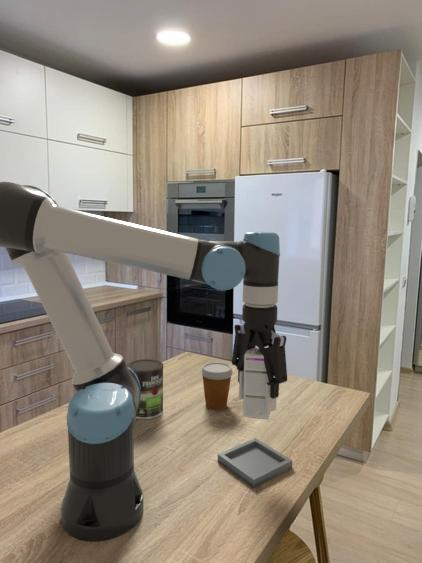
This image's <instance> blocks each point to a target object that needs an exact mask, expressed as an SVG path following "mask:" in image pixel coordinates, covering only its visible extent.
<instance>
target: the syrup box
mask: <svg viewBox="0 0 422 563" xmlns="http://www.w3.org/2000/svg"><path fill="white" fill-rule="evenodd" d="M267 382H269V380H268V376H267V372H266V368H265V364H264V357H263V355H262V353H261V352H260V351H259V347H257V346H255V348H252V349H249V350H247V351H246V352H245V355H244V399H243V409H242V410H243V411H242V412H243V416H242V417H245V418H250V419H259V420H267V421H268V420H269V419H270V415H271V412H269V413H266V412H265V392H266V383H267Z"/></svg>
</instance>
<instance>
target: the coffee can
mask: <svg viewBox="0 0 422 563" xmlns="http://www.w3.org/2000/svg"><path fill="white" fill-rule="evenodd" d="M126 365H127V367H129V368H130V369H131V370H133V371H134V373H135V374H136V376H137V377H138V380H139V383H140V387H141V390H140V391H141V398H140V402H139V406H138V410H137V415H136V420H141V421H142V420H146V421H147V420H151V419H155V418H157V417H160V416H161V415H162V414H163V412H164V405H163V404H164V363H163V362H162V361H159V360H156V359H151V358H149V359H148V358H147V359H138V360H137V359H136V360H132V361H130V362H129V363H127V364H126Z"/></svg>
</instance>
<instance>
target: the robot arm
mask: <svg viewBox="0 0 422 563" xmlns="http://www.w3.org/2000/svg"><path fill="white" fill-rule="evenodd" d="M0 247H1V248H4V249H6V252H7V254H8V256H9V258H10V261H11V262H12V263H14V264H17V265H19V266H22V267H23V268H24V270H25V272H26V275H27V276H28V278H29V280H30V282H31V284H32V286H33V289H34V290H35V293H36V294H37V296H38V298H39V300H40V303H41V305H42V307H43V309H44V311H45V313H46V315H47V317H48V319H49V321H50V323H51V325H52V327H53V329H54V332H55V334H56V336H57V337H58V339H59V341H60V344H61V346H62V348H63V350H64V352H65V354H66V356H67V357H68V360H69V362H70V364H71V366H72V369H73V370H74V373H73V376H72V379H71V384H72V387H73V388H74V390H75V392H76V393H75V394H73V395H72V396H71V398H70V400H69V402H68V405H67V413H66V425H67V433H68V435H67V438H68V440H67V441H68V463H69V464H68V465H69V481H68V484H67V486H66V490H65V493H64V496H63V500H62V503H61V509H60V515H61V516H60V517H61V525H62V528H63V530H64V531H66V533H67V534H69V535H70V536H71V537H74V538H75V539H79V540H82V541H90V542H93V541H95V542H97V541H104V540H105V541H106V540H109V539H113V538H116V537H119V536H120V535H122V534H124V533H126V532H128V531H129V530H130V529H132V528H133V527H134V526H135V525H136V524H137V523H138V522H139V521H140V519H141V517H142V516H143V512H144V503H145V502H144V493H143V490H142V487H141V485H140V482H139V479H138V476H137V475H136V472H135V464H134V463H135V462H134V461H135V460H134V459H135V454H134V453H135V450H134V448H135V447H134V446H135V444H134V437H135V436H134V432H135V425H136V420H137V419H136V415H137V410H138V406H139V402H140V398H141V391H140V390H141V387H140V383H139V380H138V377H137V376H136V374H135V373H134V371H133V370H131V369H130V368H129V367H127V365H128V364H127V363H126V361H125V359H124V357H123V355H121V354H119V353H115V352H113V350H112V348H111V345H110V344H109V341H108V339H107V337H106V334H105V333H104V331H103V328H102V326H101V323H100V322H99V319H98V318H97V316H96V314H95V312H94V310H93V307H92V305H91V303H90V300H89V299H88V296H87V295H86V292H85V290H84V287H83V285H82V283H81V282H80V280H79V277H78V275H77V273H76V271H75V269H74V266H73V264H72V262H71V260H70V257H69V256H68V254H69V255H74V256H77V257H78V256H79V257H83V258H87V259H93V260H98V261H101V262H102V261H103V262H107V263H110V264H111V263H112V264H115V265H120V266H124V267H129V268H134V269H139V270H144V271H146V272H147V271H148V272H151V273H152V272H153V273H155V274H161V275H167V276H171V277H175V278H180V279H185V280H189V281H192V282H197V283H200V284H201V283H202V284H205V285H208V286H209V287H211V288H213V289H216V290H219V291H228V290H232V289H234V288H236V287H238V286H239V284H241V283H243V284H242V302H243V303H244V304H243V305H242V308H241V309H242V314H241V315H242V316H241V318H242V321H243V322H244V323H239V324H235V325H234V341H233V342H234V343H233V350H232V357H231V365H232V366H235V367H236V369H237V381H238V384H239V385H238V399H240V400H244V355H245V352H246V351H247V350H249V349H252V348H255V347H259V351H260V352H261V353H262V355H263V357H264V364H265V368H266V372H267V376H268V380H269V382H267V383H266V392H265V412H266V413H269V412H270V413H271V412H274V411H276V410H277V400H278V399H277V398H279V396H280V394H279V393H280V392H279V391H280V384H283V383H286V382H288V368H287V357H286V347H285V346H286V344H287V336H286V335H279V334H278V333H277V332H276V329H275V325H276V323H277V321H278V305H276V304H278V300H279V299H278V298H279V297H278V296H279V273H280V256H281V251H280V249H281V248H280V236H279V235H278V233H276V232H270V231H247V232H244V236H243V239H242V240H239V241H238V240H237V241H228V240H227V241H225V240H224V241H222V240H218V241H217V240H204V239H198V238H195V237H191V236H187V235H183V234H178V233H174V232H169V231H165V230H162V229H157V228H152V227H149V226H144V225H141V224H136V223H133V222H127V221H123V220H119V219H115V218H110V217H105V216H101V215H97V214H93V213H89V212H84V211H80V210H76V209H72V208H68V207H63V206H59V204H58V203H57V201H56V199H54V197H53V196H52V195H51V194H49V193H47V192H46V191H45V190H43V189H41V188H40V187H36V186H34V185H26V184H25V185H23V184H18V183H15V182H9V181H0ZM242 281H243V282H242Z"/></svg>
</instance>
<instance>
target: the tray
mask: <svg viewBox="0 0 422 563" xmlns="http://www.w3.org/2000/svg"><path fill="white" fill-rule="evenodd" d="M217 462H218V463H219V464H221V465H222V467H224V468H226V469H228V470H229V471H230V472H232V473H233V474H235V476H236V477H238V478H239V479H240V480H242V481H244V482H245V483H246V484H248V485H249V486H251V487H252V488H253V489H254V488H256V487H258V486H260V485H262V484H264V483H265V482H268V481H269V480H271V479H273V478H275V477H277V476H279V475H281V474H283V473H285V472H286V471H288V470H290V469H293V459H291V458H290V457H287V456H286V455H284V454H283V453H281V452H279V451H277V449H274V448H273V447H271V446H269V445H268V444H266V443H265V442H263V441H261V440H260V439H258V438H256V437H255V438H252V439H250V440H248V441H245V442H243V443H241V444H240V443H239V444H238V445H236V446H234V447H231V448H229V449H227V450H225V451H221V452H220V453H217Z"/></svg>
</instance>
